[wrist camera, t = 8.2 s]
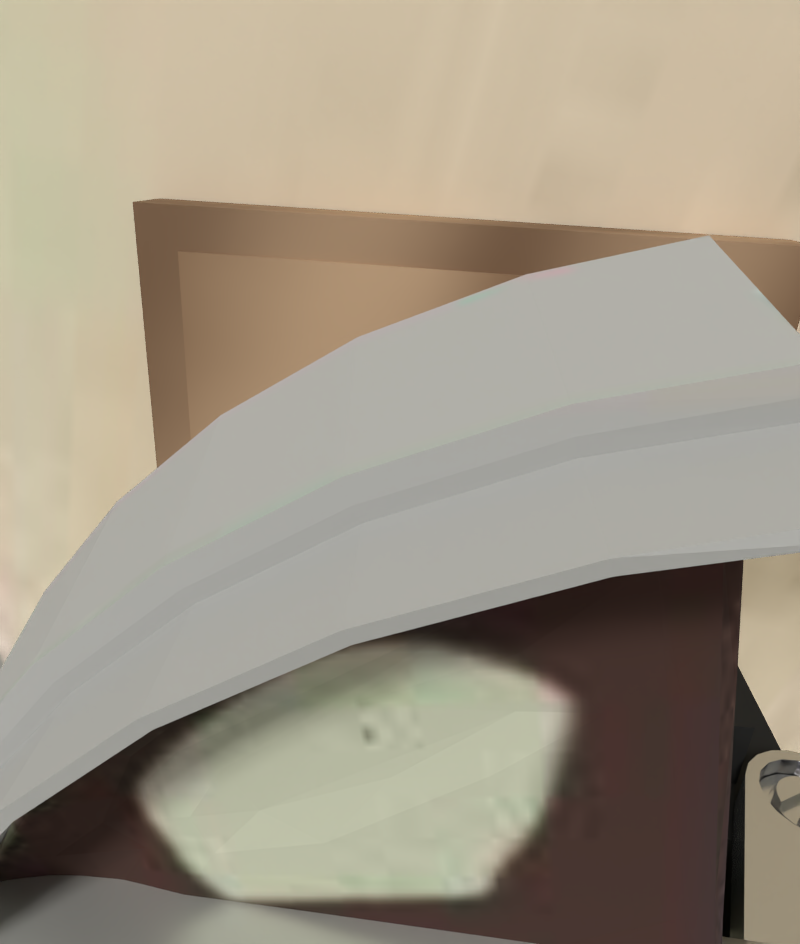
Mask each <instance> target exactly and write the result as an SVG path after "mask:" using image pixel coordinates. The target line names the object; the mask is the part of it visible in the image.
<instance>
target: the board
mask: <svg viewBox="0 0 800 944" xmlns="http://www.w3.org/2000/svg"><path fill="white" fill-rule="evenodd" d="M133 210H134V221H135V232H136V243H137V254H138V264H139V275H140V286H141V297H142V308H143V319H144V330H145V341H146V352H147V363H148V373H149V384H150V395H151V406H152V417H153V428H154V439H155V450H156V461H157V468H158V467H159V466H160V465H162V464H163V463H164V462H165V461H166V460H168V459H169V458H170V457H171V456H172V455H174V454H175V453H176V452H177V451H178V450H180V449H181V448H182V447H183V446H184V445H186V444H187V443H188V442H189V441H190V440H192V439H193V438H194V437H195V436H196V435H198V434H199V433H200V432H201V431H202V430H204V429H205V428H206V427H207V426H208V425H210V424H211V423H212V422H213V421H214V420H216V419H217V418H218V417H219V416H220V415H222V414H224V413H225V412H227V411H229V410H231V409H232V408H234V407H236V406H238V405H239V404H241V403H243V402H245V401H246V400H248V399H250V398H252V397H253V396H255V395H257V394H259V393H260V392H262V391H264V390H266V389H267V388H269V387H271V386H273V385H274V384H276V383H278V382H280V381H281V380H283V379H285V378H287V377H288V376H290V375H292V374H294V373H295V372H297V371H299V370H301V369H302V368H304V367H306V366H308V365H310V364H311V363H313V362H315V361H317V360H318V359H320V358H322V357H324V356H325V355H327V354H329V353H331V352H332V351H334V350H336V349H338V348H339V347H341V346H343V345H345V344H346V343H348V342H350V341H352V340H353V339H355V338H357V337H359V336H362V335H365V334H367V333H370V332H373V331H375V330H378V329H381V328H383V327H386V326H389V325H391V324H394V323H397V322H399V321H402V320H405V319H408V318H410V317H413V316H416V315H418V314H421V313H424V312H426V311H429V310H432V309H434V308H437V307H440V306H442V305H445V304H448V303H450V302H453V301H456V300H459V299H461V298H464V297H467V296H469V295H472V294H475V293H477V292H480V291H483V290H485V289H488V288H491V287H493V286H496V285H499V284H501V283H504V282H507V281H510V280H512V279H515V278H518V277H520V276H523V275H526V274H530V273H535V272H540V271H544V270H549V269H554V268H558V267H563V266H568V265H572V264H577V263H582V262H586V261H591V260H596V259H601V258H605V257H610V256H615V255H619V254H624V253H629V252H633V251H638V250H643V249H647V248H652V247H657V246H661V245H666V244H671V243H675V242H680V241H685V240H689V239H694V238H699V237H703V236H708V235H706V234H691V233H676V232H661V231H645V230H630V229H615V228H600V227H584V226H569V225H554V224H538V223H523V222H508V221H493V220H477V219H462V218H447V217H432V216H416V215H401V214H386V213H370V212H355V211H340V210H325V209H309V208H294V207H279V206H264V205H248V204H233V203H218V202H202V201H187V200H172V199H153V200H145V201H137V202H133ZM709 236H710V237H711V238H712V239H713V240H714V241H715V242H716V244H717V245H718V246H719V247H720V248H721V249H722V250H723V251H724V252H725V253H726V254H727V256H728V257H729V258H730V259H731V260H732V261H733V262H734V263H735V264H736V265H737V266H738V268H739V269H740V270H741V271H742V272H743V273H744V274H745V275H746V276H747V277H748V279H749V280H750V281H751V282H752V283H753V284H754V285H755V286H756V287H757V288H758V289H759V291H760V292H761V293H762V294H763V295H764V296H765V297H766V298H767V299H768V300H769V301H770V303H771V304H772V305H773V306H774V307H775V308H776V309H777V310H778V311H779V312H780V314H781V315H782V316H783V317H784V318H785V319H786V320H787V321H788V322H789V323H790V324H791V326H792V327H793V328H794V329H795V330H796V331H797V327H798V324H799V320H800V242H797V241H793V240H783V239H768V238H752V237H737V236H722V235H709Z"/></svg>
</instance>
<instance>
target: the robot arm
mask: <svg viewBox="0 0 800 944" xmlns="http://www.w3.org/2000/svg"><path fill="white" fill-rule="evenodd" d="M0 944H534V943H528V942H521V941H514V940H507V939H500V938H493V937H486V936H479V935H472V934H465V933H458V932H450V931H443V930H436V929H429V928H422V927H415V926H408V925H401V924H393V923H386V922H379V921H372V920H365V919H358V918H351V917H343V916H336V915H329V914H322V913H315V912H308V911H301V910H294V909H286V908H279V907H271V906H264V905H257V904H249V903H242V902H235V901H227V900H220V899H212V898H205V897H198V896H190V895H183V894H179V893H175V892H171V891H167V890H163V889H159V888H155V887H151V886H147V885H143V884H139V883H135V882H131V881H127V880H121V879H112V878H101V877H91V876H73V875H48V876H38V877H28V878H20V879H14V880H8V881H2V882H0ZM722 944H800V753H797V752H792V751H788V750H780V748H779V746H778V744H777V742H776V740H775V738H774V736H773V734H772V732H771V730H770V728H769V726H768V724H767V722H766V720H765V718H764V716H763V714H762V712H761V710H760V708H759V706H758V705H757V703H756V701H755V699H754V697H753V695H752V693H751V691H750V689H749V687H748V685H747V683H746V681H745V679H744V677H743V675H742V673H741V671H740V669H739V667H738V666H737V684H736V702H735V719H734V736H733V753H732V770H731V788H730V805H729V822H728V839H727V856H726V873H725V891H724V908H723V930H722Z"/></svg>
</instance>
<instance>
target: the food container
mask: <svg viewBox="0 0 800 944" xmlns="http://www.w3.org/2000/svg"><path fill="white" fill-rule="evenodd" d="M792 553H800V334H799V333H798V332H797V331H796V330H795V329H794V328H793V327H792V326H791V324H790V323H789V322H788V321H787V320H786V319H785V318H784V317H783V316H782V315H781V314H780V312H779V311H778V310H777V309H776V308H775V307H774V306H773V305H772V304H771V303H770V301H769V300H768V299H767V298H766V297H765V296H764V295H763V294H762V293H761V292H760V291H759V289H758V288H757V287H756V286H755V285H754V284H753V283H752V282H751V281H750V280H749V279H748V277H747V276H746V275H745V274H744V273H743V272H742V271H741V270H740V269H739V268H738V266H737V265H736V264H735V263H734V262H733V261H732V260H731V259H730V258H729V257H728V256H727V254H726V253H725V252H724V251H723V250H722V249H721V248H720V247H719V246H718V245H717V244H716V242H715V241H714V240H713V239H712V238H711V237H710V236H709V235H708V236H703V237H699V238H694V239H689V240H685V241H680V242H675V243H671V244H666V245H661V246H657V247H652V248H647V249H643V250H638V251H633V252H629V253H624V254H619V255H615V256H610V257H605V258H601V259H596V260H591V261H586V262H582V263H577V264H572V265H568V266H563V267H558V268H554V269H549V270H544V271H540V272H535V273H530V274H526V275H523V276H520V277H518V278H515V279H512V280H510V281H507V282H504V283H501V284H499V285H496V286H493V287H491V288H488V289H485V290H483V291H480V292H477V293H475V294H472V295H469V296H467V297H464V298H461V299H459V300H456V301H453V302H450V303H448V304H445V305H442V306H440V307H437V308H434V309H432V310H429V311H426V312H424V313H421V314H418V315H416V316H413V317H410V318H408V319H405V320H402V321H399V322H397V323H394V324H391V325H389V326H386V327H383V328H381V329H378V330H375V331H373V332H370V333H367V334H365V335H362V336H359V337H357V338H355V339H353V340H352V341H350V342H348V343H346V344H345V345H343V346H341V347H339V348H338V349H336V350H334V351H332V352H331V353H329V354H327V355H325V356H324V357H322V358H320V359H318V360H317V361H315V362H313V363H311V364H310V365H308V366H306V367H304V368H302V369H301V370H299V371H297V372H295V373H294V374H292V375H290V376H288V377H287V378H285V379H283V380H281V381H280V382H278V383H276V384H274V385H273V386H271V387H269V388H267V389H266V390H264V391H262V392H260V393H259V394H257V395H255V396H253V397H252V398H250V399H248V400H246V401H245V402H243V403H241V404H239V405H238V406H236V407H234V408H232V409H231V410H229V411H227V412H225V413H224V414H222V415H220V416H219V417H218V418H217V419H216V420H214V421H213V422H212V423H211V424H210V425H208V426H207V427H206V428H205V429H204V430H202V431H201V432H200V433H199V434H198V435H196V436H195V437H194V438H193V439H192V440H190V441H189V442H188V443H187V444H186V445H184V446H183V447H182V448H181V449H180V450H178V451H177V452H176V453H175V454H174V455H172V456H171V457H170V458H169V459H168V460H166V461H165V462H164V463H163V464H162V465H160V466H159V467H158V468H157V469H156V470H154V471H153V472H152V473H151V474H150V475H148V476H147V477H146V478H145V479H144V480H142V481H141V482H140V483H139V484H138V485H136V486H135V487H134V488H133V489H132V490H130V491H129V492H128V493H127V494H126V495H124V496H123V497H122V498H121V499H120V500H118V501H117V502H116V504H115V505H114V506H113V507H112V508H111V510H110V511H109V512H108V513H107V515H106V516H105V517H104V518H103V520H102V521H101V522H100V523H99V525H98V526H97V527H96V528H95V530H94V531H93V532H92V533H91V534H90V536H89V537H88V538H87V539H86V541H85V542H84V543H83V544H82V546H81V547H80V548H79V549H78V551H77V552H76V553H75V554H74V556H73V557H72V558H71V559H70V560H69V562H68V563H67V564H66V565H65V567H64V568H63V569H62V570H61V572H60V573H59V574H58V575H57V577H56V578H55V579H54V580H53V582H52V583H51V584H50V585H49V586H48V588H47V589H46V590H45V592H44V593H43V595H42V597H41V599H40V600H39V602H38V604H37V606H36V608H35V609H34V611H33V613H32V615H31V616H30V618H29V620H28V622H27V624H26V625H25V627H24V629H23V631H22V632H21V634H20V636H19V638H18V640H17V641H16V643H15V645H14V647H13V648H12V650H11V652H10V654H9V656H8V657H7V659H6V661H5V663H4V664H3V666H2V668H1V670H0V882H2V881H8V880H14V879H20V878H28V877H38V876H48V875H73V876H91V877H101V878H112V879H121V880H127V881H131V882H135V883H139V884H143V885H147V886H151V887H155V888H159V889H163V890H167V891H171V892H175V893H179V894H183V895H190V896H198V897H205V898H212V899H220V900H227V901H235V902H242V903H249V904H257V905H264V906H271V907H279V908H286V909H294V910H301V911H308V912H315V913H322V914H329V915H336V916H343V917H351V918H358V919H365V920H372V921H379V922H386V923H393V924H401V925H408V926H415V927H422V928H429V929H436V930H443V931H450V932H458V933H465V934H472V935H479V936H486V937H493V938H500V939H507V940H514V941H521V942H528V943H534V944H722V930H723V908H724V891H725V873H726V856H727V839H728V822H729V805H730V788H731V770H732V753H733V736H734V719H735V702H736V684H737V666H738V648H739V630H740V612H741V594H742V576H743V560H746V559H753V558H761V557H769V556H776V555H784V554H792Z"/></svg>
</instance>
